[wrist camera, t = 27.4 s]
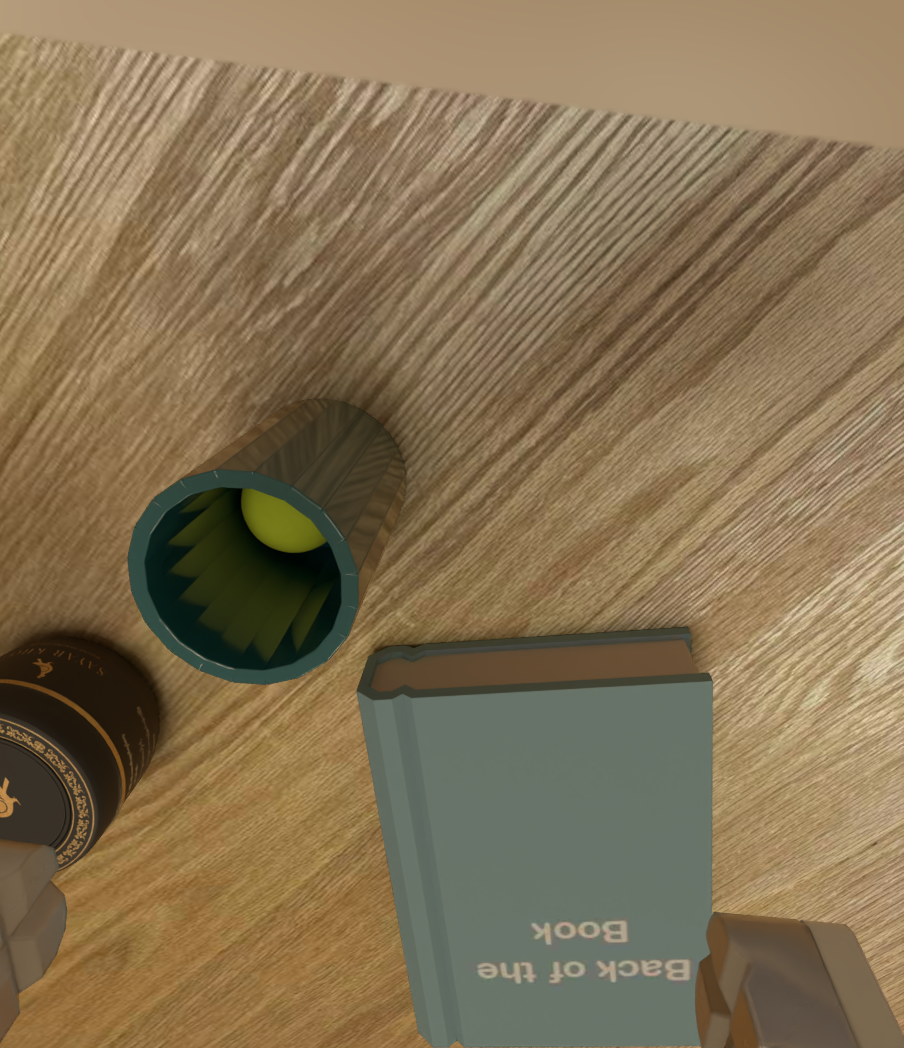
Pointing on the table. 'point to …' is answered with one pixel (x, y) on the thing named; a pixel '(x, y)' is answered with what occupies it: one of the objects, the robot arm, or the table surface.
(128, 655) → the table surface
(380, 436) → the tube
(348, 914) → the table surface
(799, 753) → the table surface
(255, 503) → the ball
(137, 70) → the table surface
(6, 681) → the jar
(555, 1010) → the book
